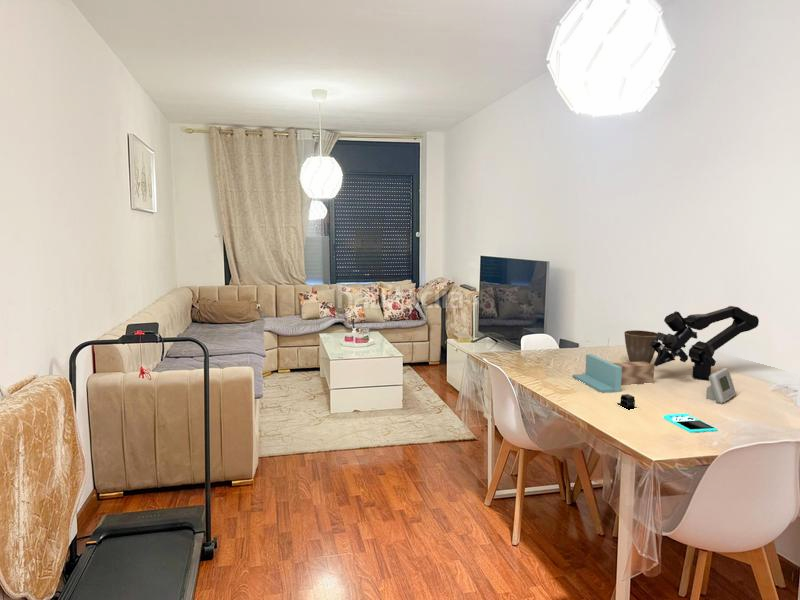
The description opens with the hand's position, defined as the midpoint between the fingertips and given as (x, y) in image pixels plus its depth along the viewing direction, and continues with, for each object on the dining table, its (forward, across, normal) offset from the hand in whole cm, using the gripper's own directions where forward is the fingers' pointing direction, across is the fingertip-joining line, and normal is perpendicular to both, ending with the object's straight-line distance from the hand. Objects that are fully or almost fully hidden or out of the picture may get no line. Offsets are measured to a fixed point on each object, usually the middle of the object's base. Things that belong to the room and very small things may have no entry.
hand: (654, 365), depth 241 cm
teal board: (+24, 0, -14) cm, 28 cm away
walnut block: (+12, 0, -3) cm, 13 cm away
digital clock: (-2, +28, +12) cm, 30 cm away
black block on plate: (+27, +29, -16) cm, 43 cm away
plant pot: (-1, -23, +11) cm, 26 cm away
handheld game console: (+20, +50, -9) cm, 55 cm away
